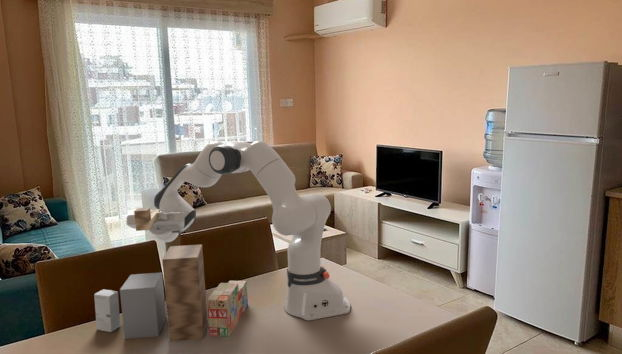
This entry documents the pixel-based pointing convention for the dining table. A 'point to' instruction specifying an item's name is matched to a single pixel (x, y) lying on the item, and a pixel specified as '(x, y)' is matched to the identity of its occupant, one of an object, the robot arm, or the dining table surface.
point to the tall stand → (185, 292)
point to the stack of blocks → (226, 307)
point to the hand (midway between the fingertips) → (151, 214)
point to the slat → (145, 218)
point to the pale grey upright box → (143, 305)
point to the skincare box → (107, 310)
